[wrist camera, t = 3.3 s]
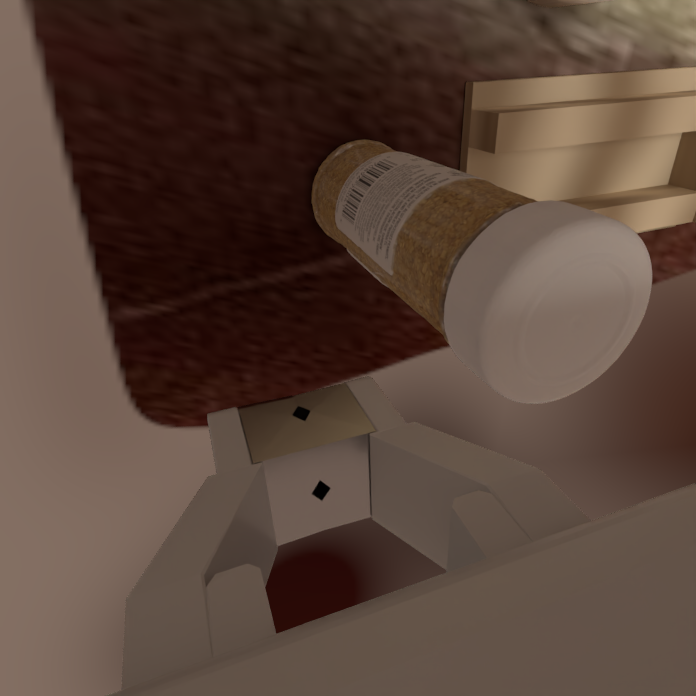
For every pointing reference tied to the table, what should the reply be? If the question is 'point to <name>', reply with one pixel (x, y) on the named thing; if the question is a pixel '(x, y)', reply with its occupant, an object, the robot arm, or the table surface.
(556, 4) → the cream dish
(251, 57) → the table surface
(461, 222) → the sprinkles bottle
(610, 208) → the u rest
